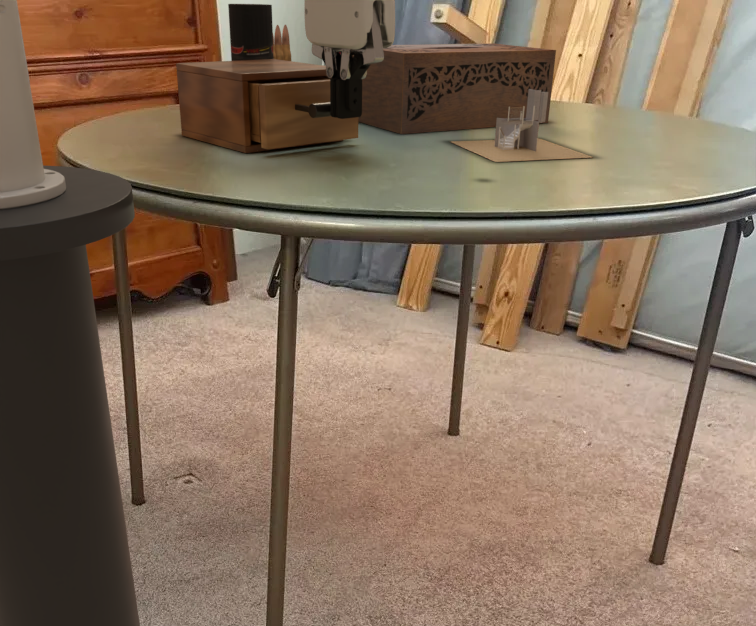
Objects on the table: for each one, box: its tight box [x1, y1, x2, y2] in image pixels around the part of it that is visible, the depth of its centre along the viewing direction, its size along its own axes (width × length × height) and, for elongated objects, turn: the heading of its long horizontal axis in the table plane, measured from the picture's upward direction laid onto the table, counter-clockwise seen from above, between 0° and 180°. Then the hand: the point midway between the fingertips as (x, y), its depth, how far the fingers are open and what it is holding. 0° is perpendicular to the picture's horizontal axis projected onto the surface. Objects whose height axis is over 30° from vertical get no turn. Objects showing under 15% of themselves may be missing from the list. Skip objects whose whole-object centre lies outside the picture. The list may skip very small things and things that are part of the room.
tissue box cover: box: [353, 42, 557, 135], centre depth 115 cm, size 26×14×10 cm, turn 121°
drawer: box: [248, 76, 359, 149], centre depth 94 cm, size 18×13×7 cm
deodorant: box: [227, 3, 274, 61], centre depth 112 cm, size 6×6×15 cm
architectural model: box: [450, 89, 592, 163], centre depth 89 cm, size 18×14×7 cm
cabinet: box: [175, 59, 344, 154], centre depth 98 cm, size 15×15×9 cm
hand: (346, 116), depth 87 cm, fingers closed
